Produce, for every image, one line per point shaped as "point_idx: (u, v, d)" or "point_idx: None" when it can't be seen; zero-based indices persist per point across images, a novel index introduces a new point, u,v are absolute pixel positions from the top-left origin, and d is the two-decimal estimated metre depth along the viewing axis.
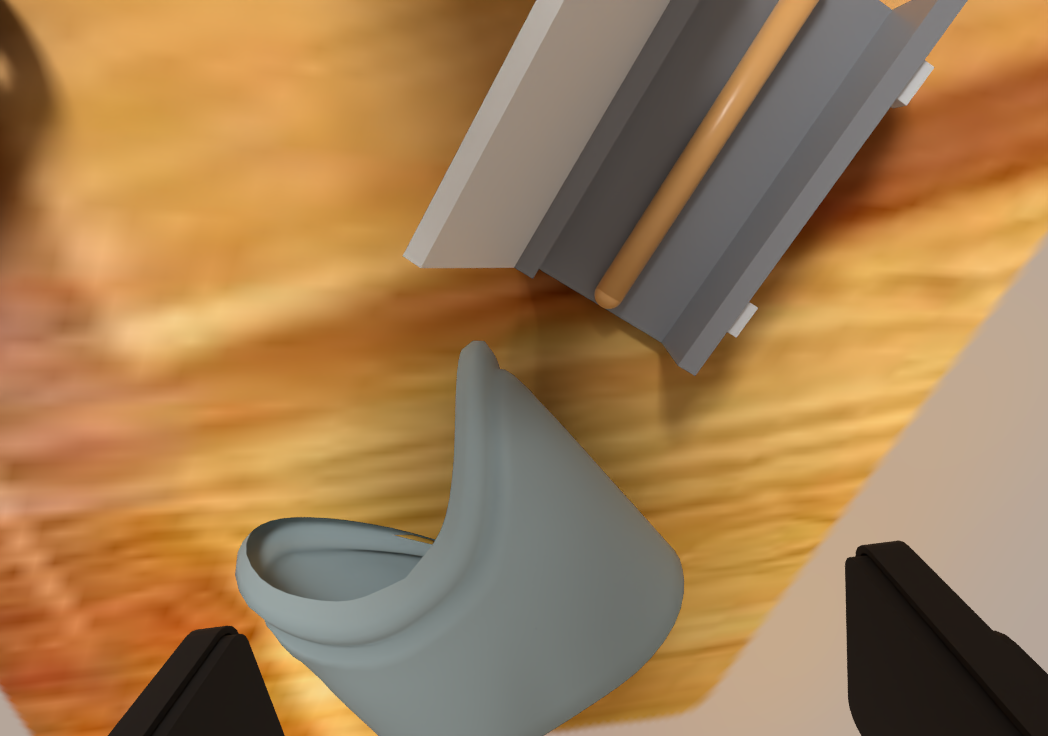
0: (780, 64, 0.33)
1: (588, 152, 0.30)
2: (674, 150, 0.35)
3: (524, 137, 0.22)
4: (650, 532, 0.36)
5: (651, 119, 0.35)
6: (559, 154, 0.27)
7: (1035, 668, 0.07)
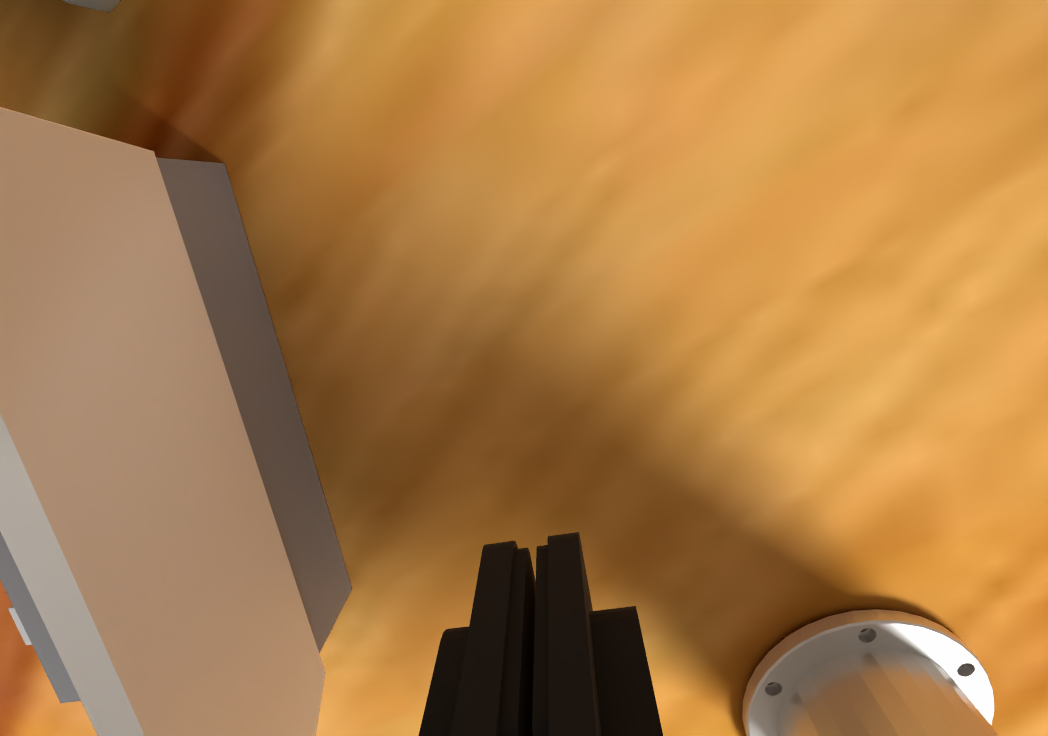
0: None
1: None
2: None
3: None
4: None
5: None
6: None
7: (640, 635, 0.08)
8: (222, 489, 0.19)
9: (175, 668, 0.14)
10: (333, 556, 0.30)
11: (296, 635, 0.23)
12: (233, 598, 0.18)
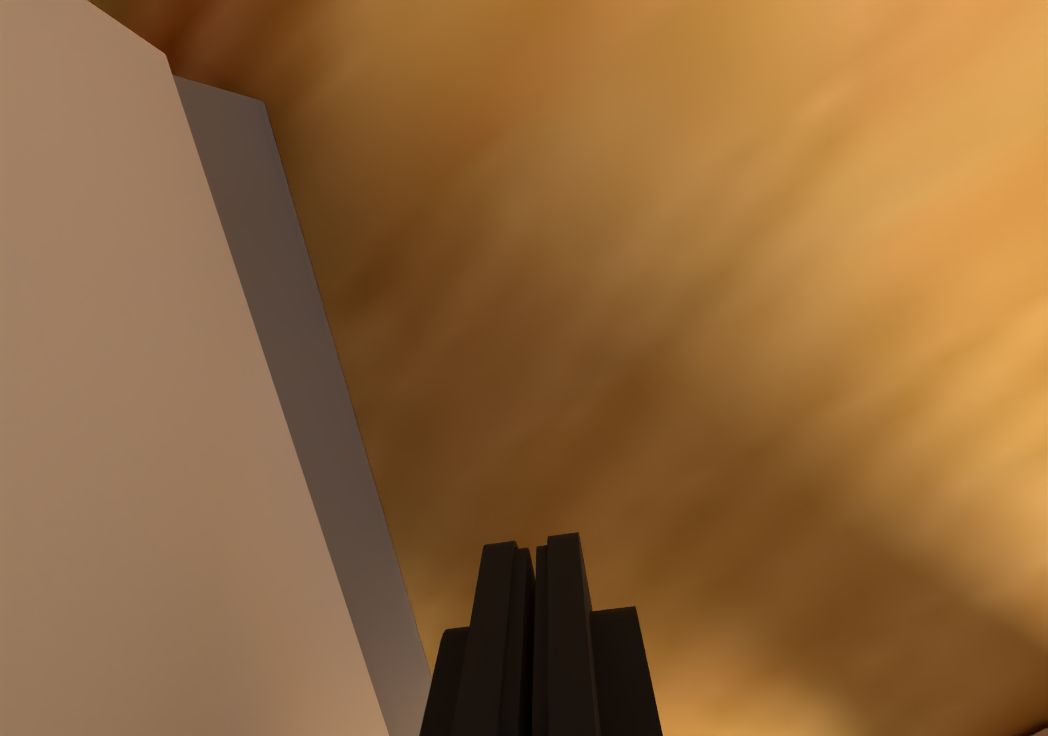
0: None
1: None
2: None
3: None
4: None
5: None
6: None
7: (641, 634, 0.08)
8: (294, 631, 0.11)
9: None
10: (413, 648, 0.22)
11: None
12: None
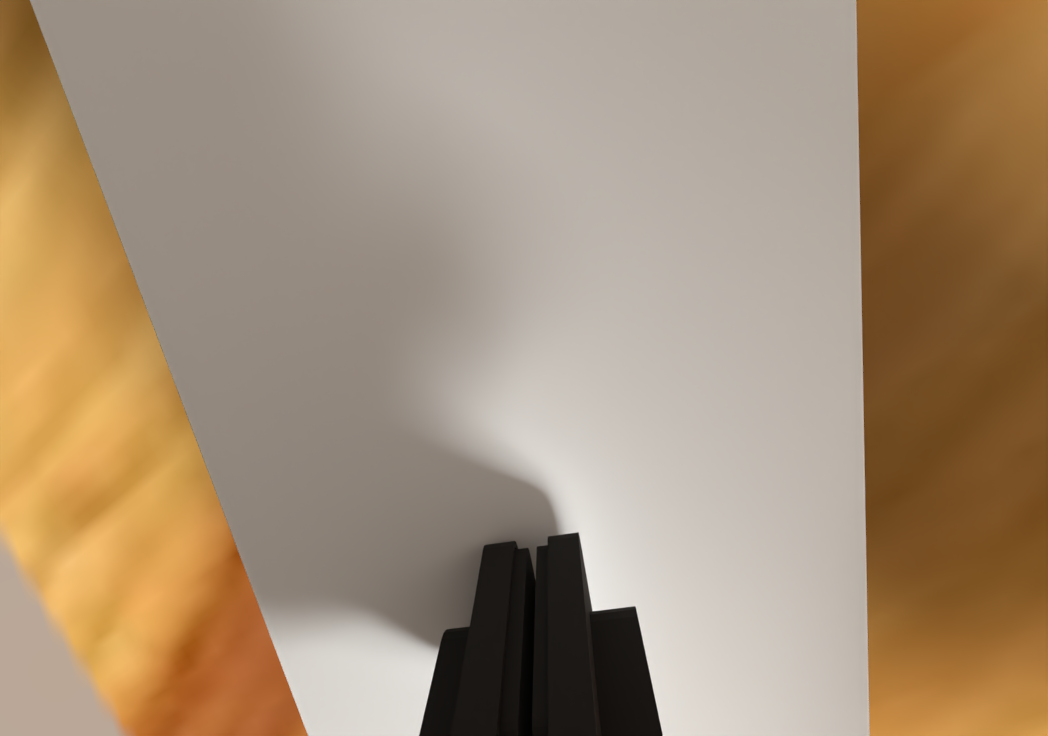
0: None
1: None
2: None
3: None
4: None
5: None
6: None
7: (641, 634, 0.08)
8: (713, 529, 0.12)
9: None
10: None
11: None
12: None
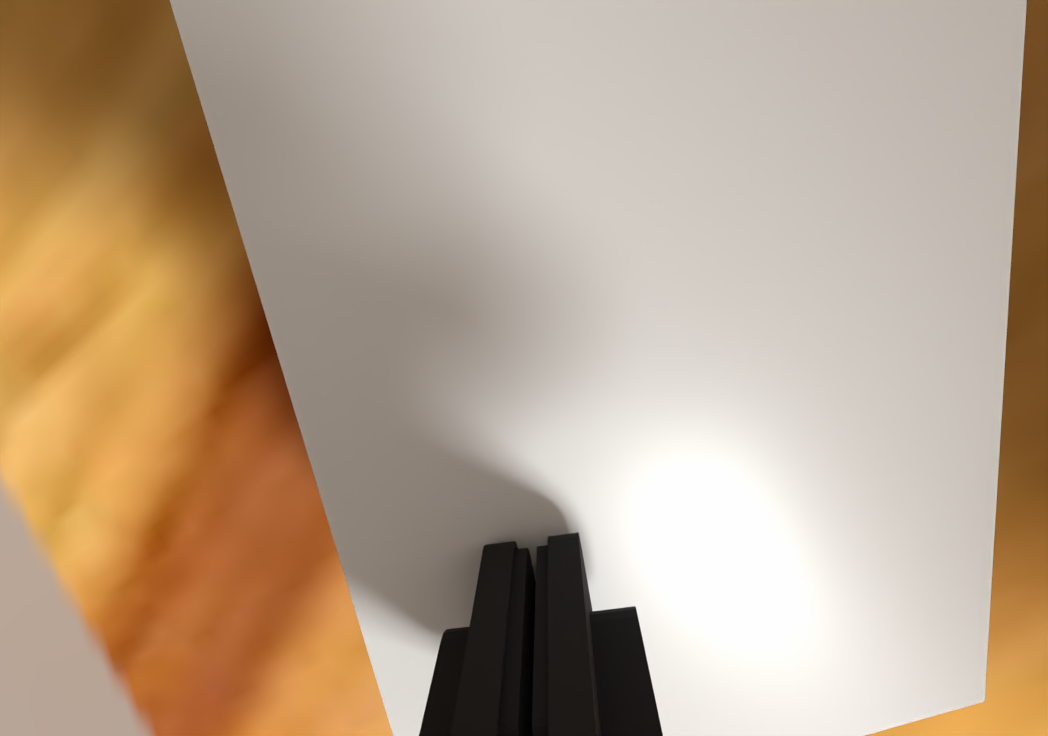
0: None
1: None
2: None
3: None
4: None
5: None
6: None
7: (641, 634, 0.08)
8: (788, 214, 0.09)
9: (422, 404, 0.09)
10: None
11: (904, 585, 0.12)
12: (683, 408, 0.10)
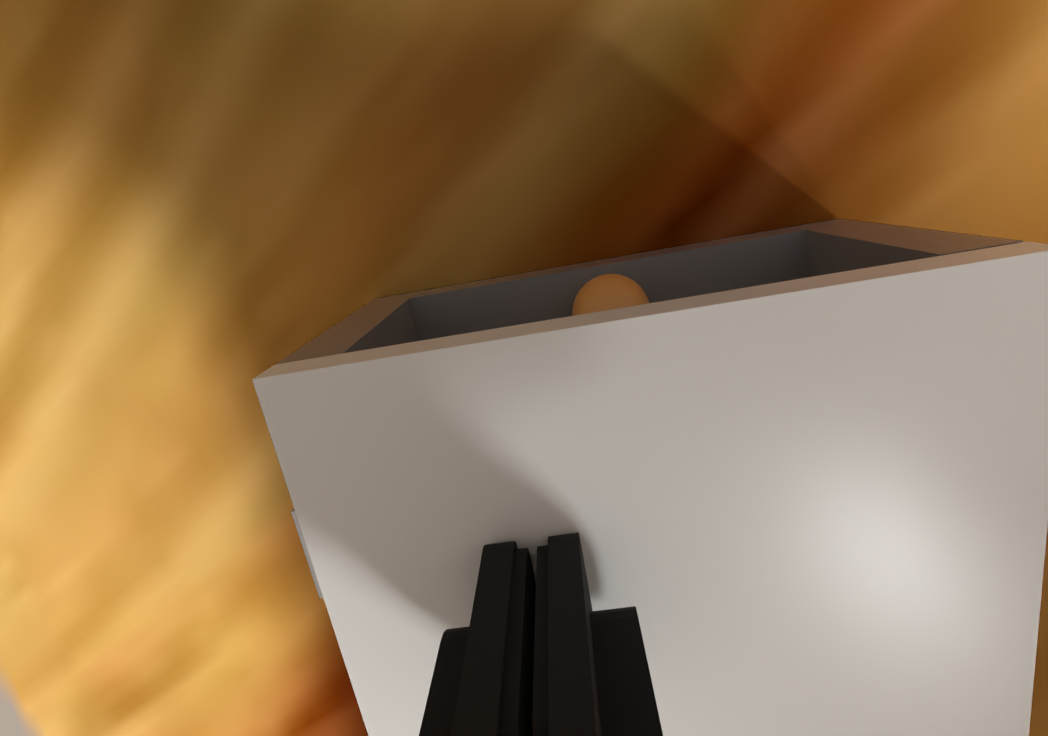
0: None
1: None
2: None
3: None
4: None
5: None
6: None
7: (641, 634, 0.08)
8: None
9: None
10: None
11: None
12: None
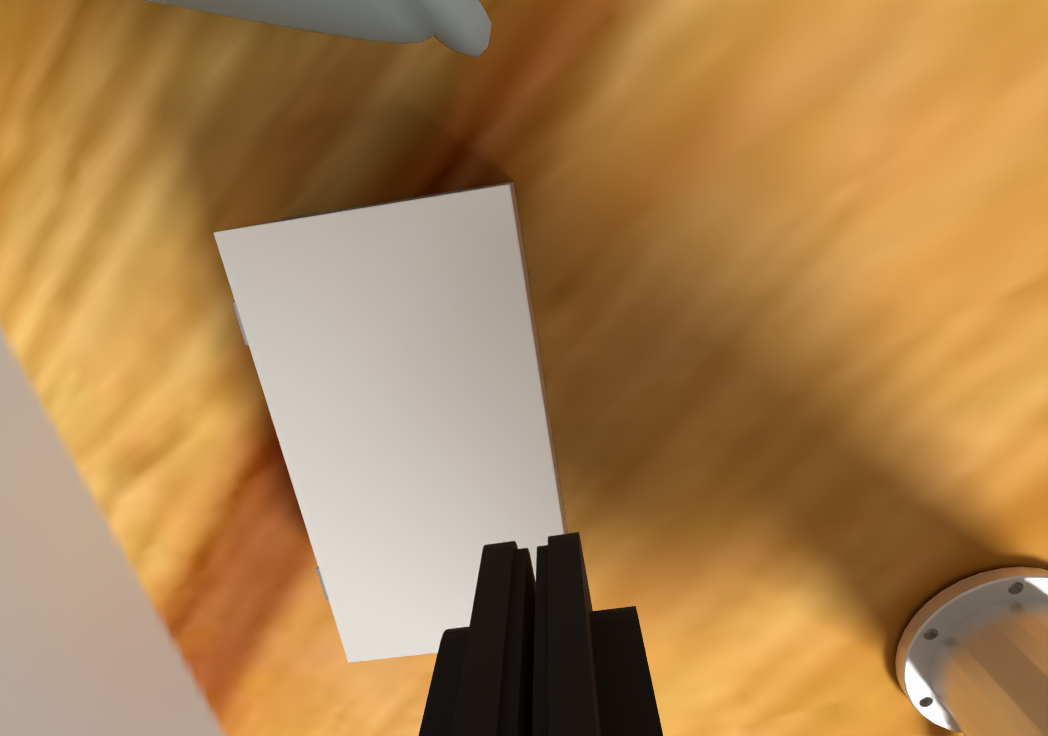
0: None
1: None
2: None
3: None
4: None
5: None
6: None
7: (641, 634, 0.08)
8: (461, 452, 0.27)
9: (339, 503, 0.28)
10: None
11: None
12: (430, 511, 0.28)
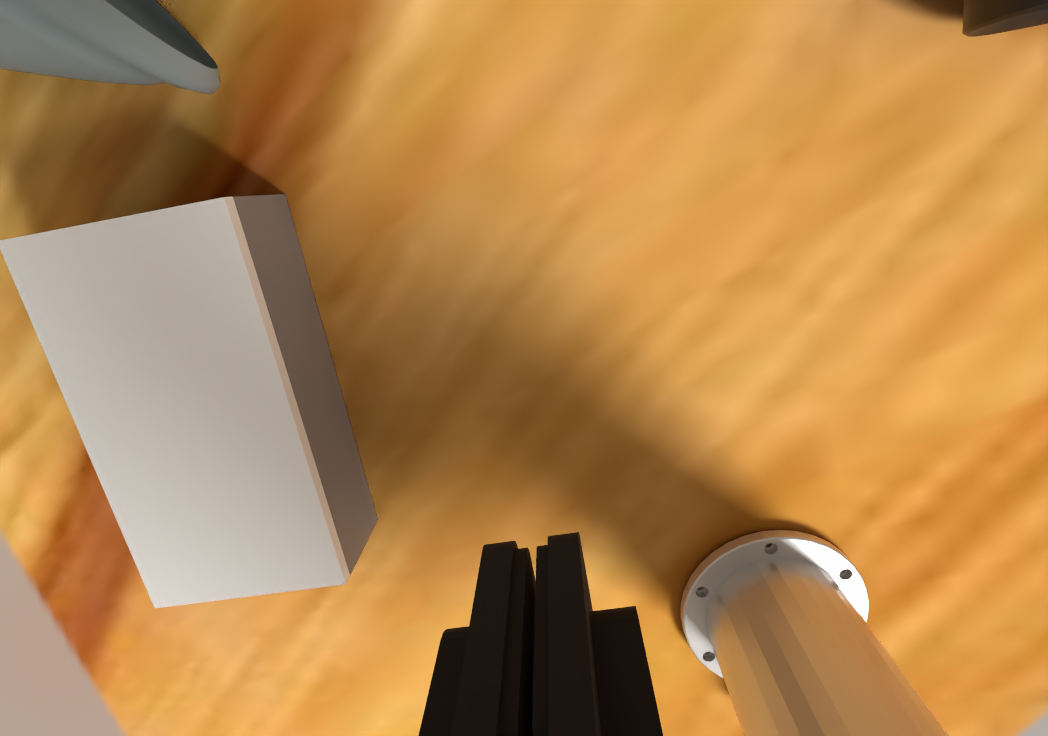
0: None
1: None
2: None
3: None
4: None
5: None
6: None
7: (641, 635, 0.08)
8: (220, 421, 0.32)
9: (127, 467, 0.33)
10: (364, 493, 0.40)
11: (297, 536, 0.34)
12: (203, 473, 0.33)
